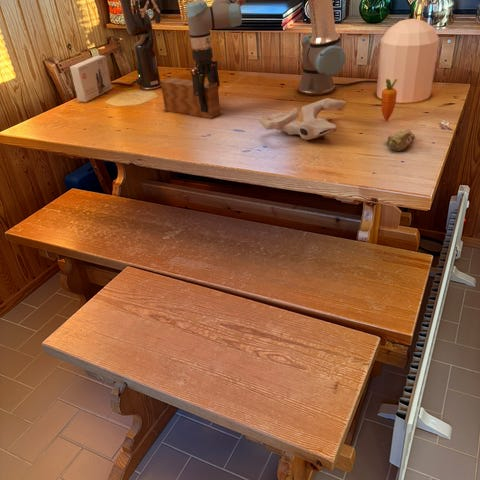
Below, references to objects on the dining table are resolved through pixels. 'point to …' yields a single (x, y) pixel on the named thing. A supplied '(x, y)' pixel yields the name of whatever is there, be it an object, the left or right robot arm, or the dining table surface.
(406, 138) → the rock
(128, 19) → the left robot arm
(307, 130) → the beige branched piece
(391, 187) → the dining table surface
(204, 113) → the box
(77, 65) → the skincare box
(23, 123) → the dining table surface
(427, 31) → the container
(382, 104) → the carrot
